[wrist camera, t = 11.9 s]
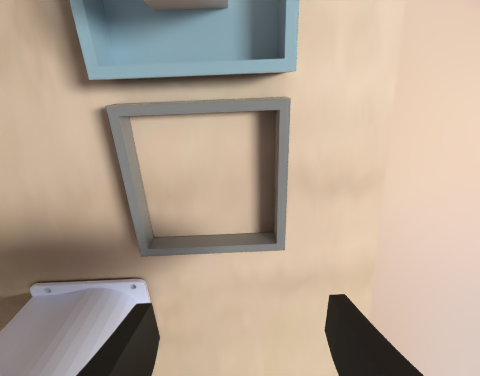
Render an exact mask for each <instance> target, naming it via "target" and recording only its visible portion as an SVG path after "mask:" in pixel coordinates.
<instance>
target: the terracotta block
mask: <svg viewBox="0 0 480 376" xmlns="http://www.w3.org/2000/svg"><path fill="white" fill-rule="evenodd" d="M143 1H144V2H145V3H146V4H148V5H149V6H150V7H151V8H152V9H153V10H179V9H210V8H228V0H143Z"/></svg>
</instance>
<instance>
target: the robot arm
mask: <svg viewBox="0 0 480 376" xmlns="http://www.w3.org/2000/svg"><path fill="white" fill-rule="evenodd" d="M132 284H133V285H132ZM134 285H135V286H134ZM30 292H31V294H32V296H33V297H32V298H31V299H30V300H29V301H28V302H27V303H26V304H25V305H24V306H23V308H22V309H21V310H20V311H19V312H18V313H17V314H16V315H15V316H14V317H13V318H12V319H11V321H10V322H9V323H8V324H7V325H6V326H5V327H4V328H3V329H2V330H1V331H0V376H151V375H152V372H153V369H154V365H155V360H156V356H157V351H158V345H159V342H160V336H159V332H158V327H157V323H156V319H155V315H154V310H153V306H152V303H151V301H150V297H149V293H148V289H147V285H146V282H145V281H144V280H143V279H123V280H100V281H78V282H55V283H36V284H33V285H32V286H31V287H30ZM325 333H326V337H327V341H328V345H329V348H330V352H331V355H332V359H333V361H334V364H335V367H336V369H337V372H338V374H339V376H423V374H421V373H420V372H419V371H418V370H417V369H416V368H415V367H414V366H413V365H412V364H411V363H410V362H409V361H408V360H407V359H406V358H405V357H404V356H403V355H401V354H400V352H399V351H398V350H396V349H395V347H393V345H392V344H391V343H390V342H389V341H387V339H386V338H385V337H384V336H383V335H382V334H381V333H380V332H379V331H378V330H377V329H376V328H375V327H374V326H373V325H372V324H371V323H370V321H369V320H368V319H367V318H366V317H365V316H364V315H363V314H362V313H361V312H360V311H359V309H358V308H357V307H356V306H355V305H354V304H353V303H352V302H351V301H350V299H349V298H348V297H347V296H346V295H345V294H338V295H329V302H328V309H327V317H326V324H325Z"/></svg>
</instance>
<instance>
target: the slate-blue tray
mask: <svg viewBox="0 0 480 376" xmlns="http://www.w3.org/2000/svg"><path fill="white" fill-rule="evenodd" d="M69 1H70V5H71V9H72V13H73V17H74V21H75V25H76V29H77V33H78V37H79V41H80V45H81V49H82V53H83V57H84V61H85V65H86V69H87V73H88V77H89V80H113V79H137V78H161V77H186V76H210V75H234V74H259V73H283V72H293V71H296V60H297V38H298V15H299V0H228V8H210V9H179V10H153V9H152V8H151V7H150V6H149V5H148V4H146V3H145V2H144V1H143V0H69Z"/></svg>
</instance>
